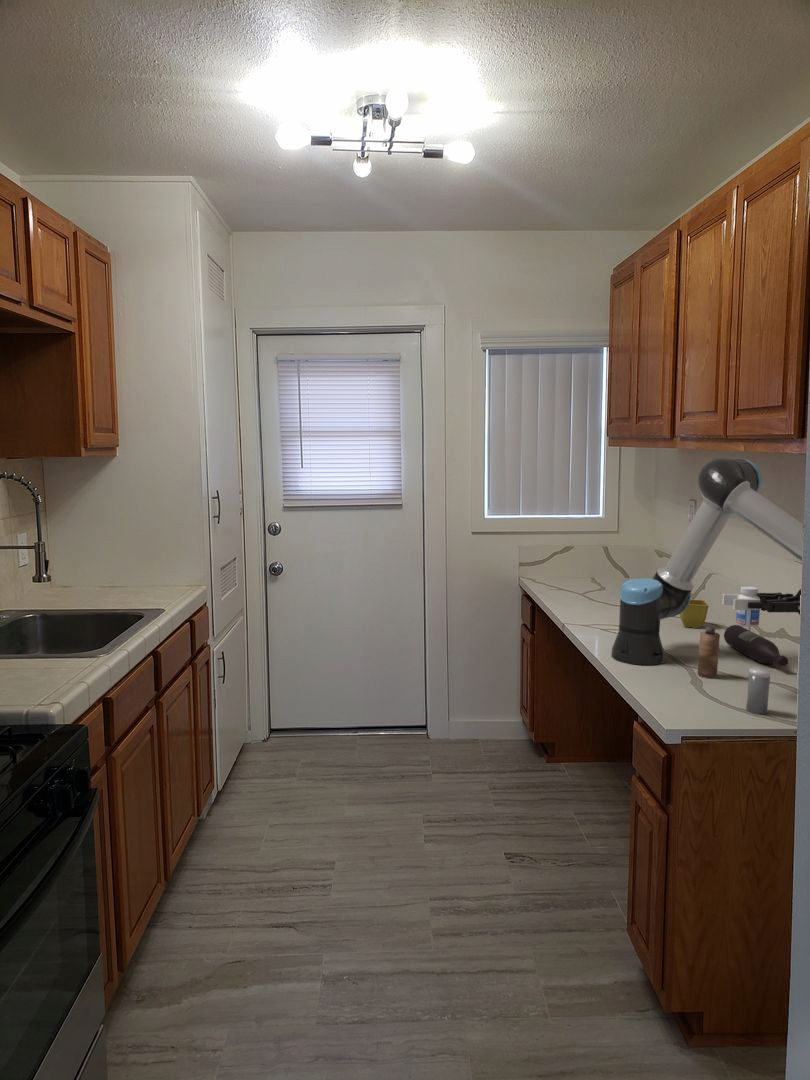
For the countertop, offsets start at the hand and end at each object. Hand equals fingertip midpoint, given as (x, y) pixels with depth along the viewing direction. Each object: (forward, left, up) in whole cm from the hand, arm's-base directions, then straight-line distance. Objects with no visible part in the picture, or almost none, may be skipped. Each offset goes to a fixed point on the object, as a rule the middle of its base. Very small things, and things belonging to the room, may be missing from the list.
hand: (728, 601), depth 194 cm
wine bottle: (+16, +50, -20) cm, 56 cm away
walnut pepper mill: (0, +14, -24) cm, 28 cm away
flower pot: (+9, +74, -24) cm, 79 cm away
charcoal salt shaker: (+5, -13, -24) cm, 28 cm away
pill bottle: (+5, +1, -6) cm, 8 cm away
